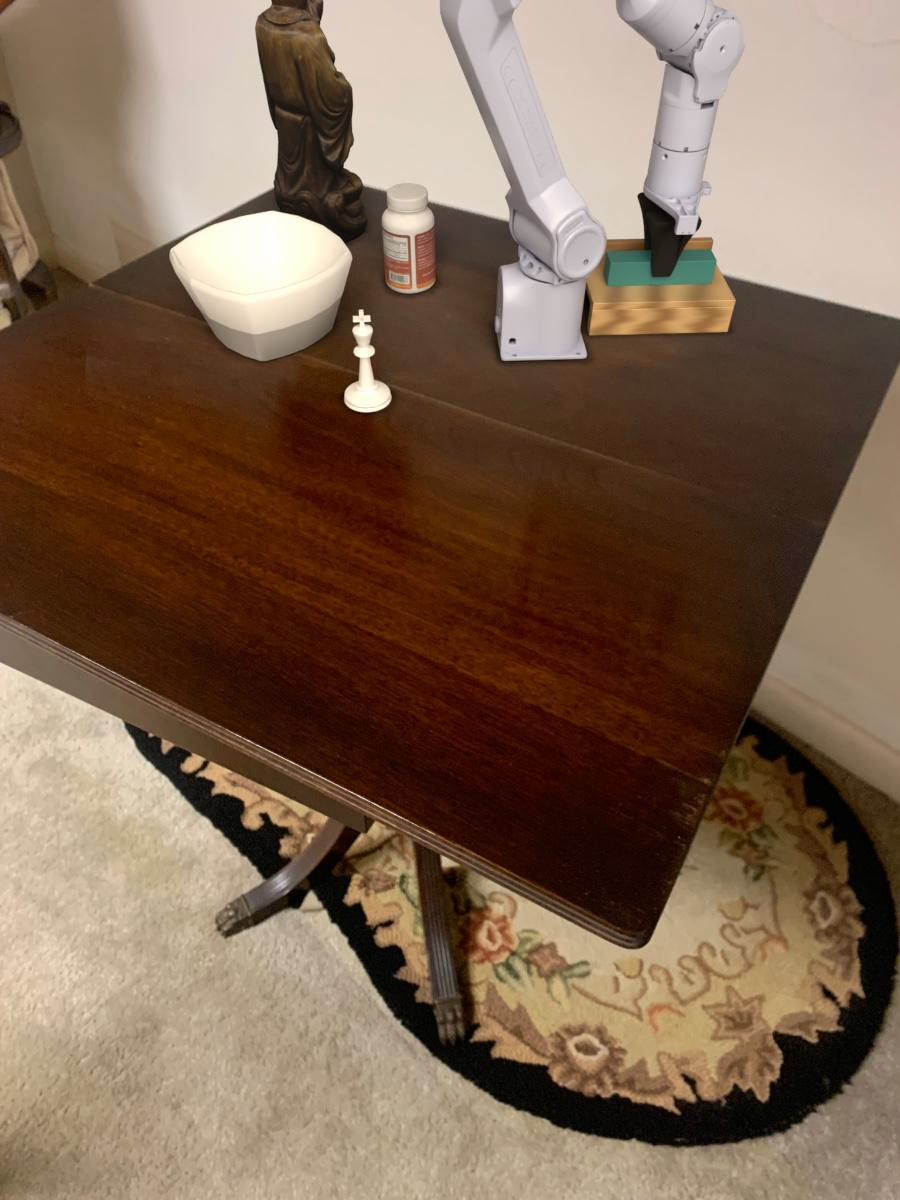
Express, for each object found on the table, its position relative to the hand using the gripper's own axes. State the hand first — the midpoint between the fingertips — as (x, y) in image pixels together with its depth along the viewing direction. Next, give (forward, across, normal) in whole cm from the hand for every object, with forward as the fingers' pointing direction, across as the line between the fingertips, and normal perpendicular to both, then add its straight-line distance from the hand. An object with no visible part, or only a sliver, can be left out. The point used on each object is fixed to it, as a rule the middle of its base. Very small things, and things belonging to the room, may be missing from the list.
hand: (657, 268), depth 100 cm
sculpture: (+6, +23, +39) cm, 46 cm away
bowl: (+6, -2, +44) cm, 44 cm away
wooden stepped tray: (+5, +1, 0) cm, 5 cm away
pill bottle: (+6, +8, +28) cm, 30 cm away
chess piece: (+6, -16, +33) cm, 37 cm away
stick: (+1, 0, 0) cm, 1 cm away
